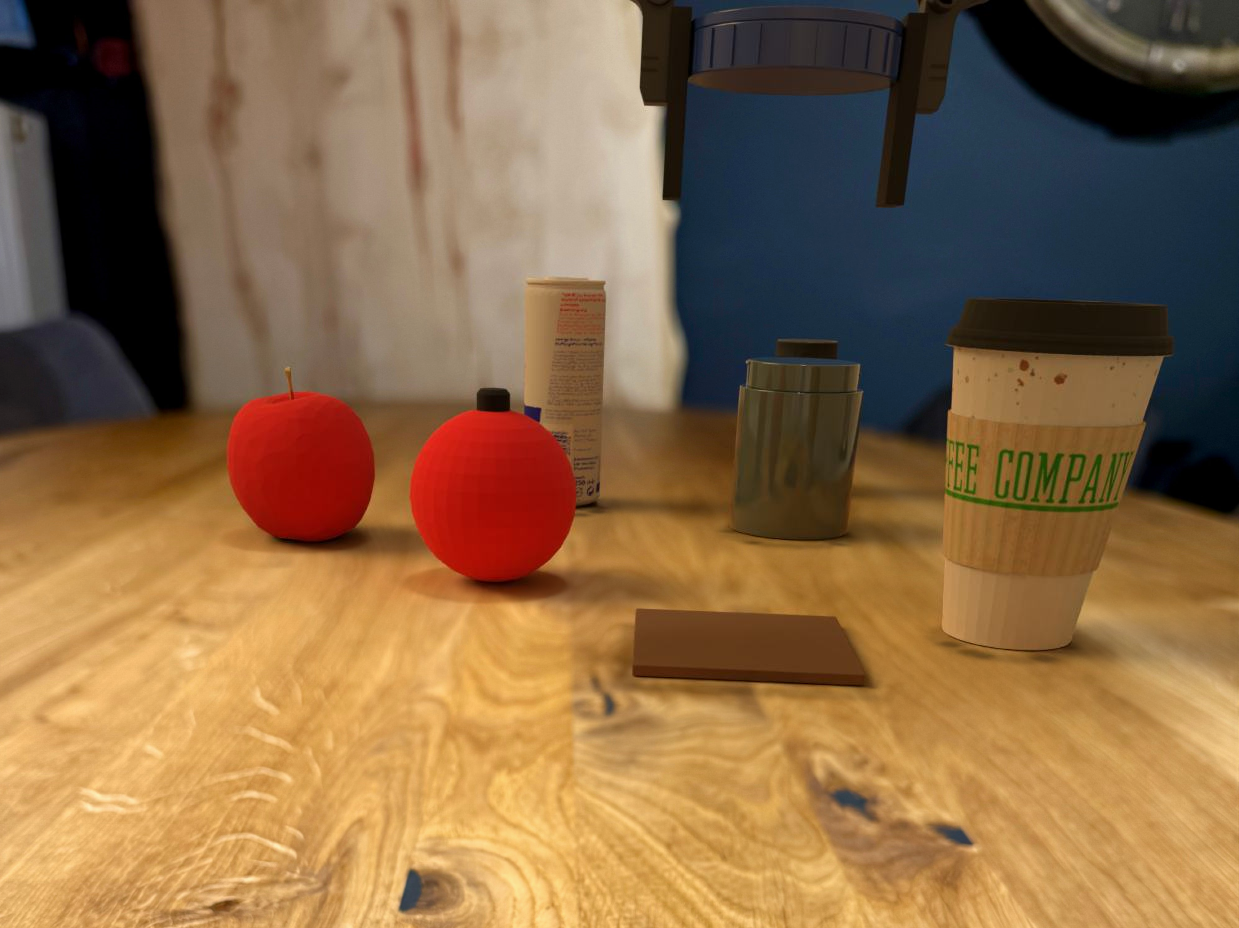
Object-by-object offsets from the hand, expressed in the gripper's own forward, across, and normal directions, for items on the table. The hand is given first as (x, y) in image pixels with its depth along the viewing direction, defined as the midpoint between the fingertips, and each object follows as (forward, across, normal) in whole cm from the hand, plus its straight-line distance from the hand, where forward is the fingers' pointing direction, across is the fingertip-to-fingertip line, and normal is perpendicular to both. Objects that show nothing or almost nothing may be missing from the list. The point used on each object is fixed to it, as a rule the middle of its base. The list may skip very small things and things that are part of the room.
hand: (780, 201), depth 53 cm
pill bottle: (+19, -7, -46) cm, 50 cm away
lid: (-6, 0, 0) cm, 6 cm away
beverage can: (+19, +11, -36) cm, 42 cm away
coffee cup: (+19, -13, -3) cm, 23 cm away
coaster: (+19, 0, +2) cm, 19 cm away
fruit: (+19, +26, -20) cm, 38 cm away
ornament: (+19, +13, -10) cm, 25 cm away
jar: (+18, -5, -29) cm, 35 cm away
